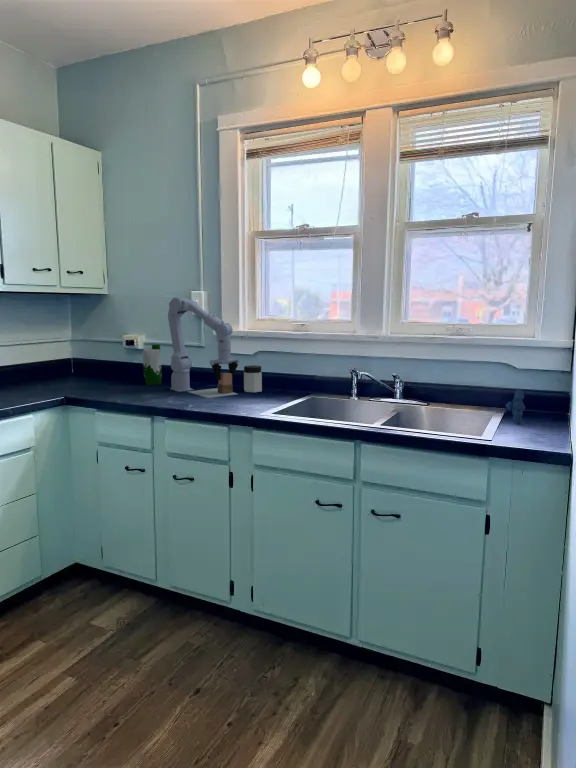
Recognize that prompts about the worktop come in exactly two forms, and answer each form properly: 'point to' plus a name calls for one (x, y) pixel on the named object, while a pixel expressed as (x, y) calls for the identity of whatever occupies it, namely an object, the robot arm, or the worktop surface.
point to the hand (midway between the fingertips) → (225, 379)
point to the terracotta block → (225, 378)
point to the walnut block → (225, 388)
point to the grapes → (517, 406)
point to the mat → (210, 393)
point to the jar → (252, 378)
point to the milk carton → (152, 365)
